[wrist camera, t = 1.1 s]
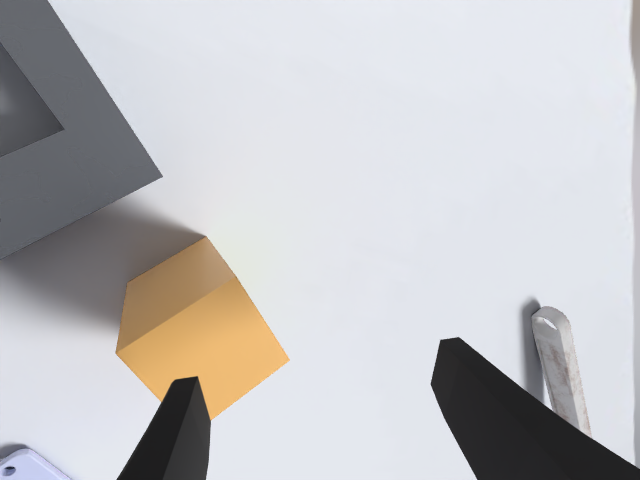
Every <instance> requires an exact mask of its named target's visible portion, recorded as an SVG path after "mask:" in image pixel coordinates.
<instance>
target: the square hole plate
mask: <svg viewBox="0 0 640 480" xmlns="http://www.w3.org/2000/svg"><path fill="white" fill-rule="evenodd" d="M0 43H1V44H2V45H3V47H4V48H5V49H6V51H7V52H8V53H9V55H10V56H11V58H12V59H13V60H14V62H15V63H16V64H17V66H18V67H19V68H20V70H21V71H22V72H23V74H24V75H25V76H26V78H27V79H28V80H29V82H30V83H31V85H32V86H33V87H34V89H35V90H36V91H37V93H38V94H39V95H40V97H41V98H42V99H43V101H44V102H45V103H46V105H47V106H48V108H49V109H50V110H51V112H52V113H53V114H54V116H55V117H56V118H57V120H58V121H59V122H60V124H61V125H62V126H63V128H64V130H62V131H60V132H57V133H55V134H53V135H50V136H48V137H46V138H43V139H41V140H39V141H36V142H34V143H32V144H29V145H27V146H25V147H22V148H20V149H18V150H15V151H13V152H11V153H8V154H6V155H4V156H1V157H0V259H2V258H4V257H6V256H8V255H10V254H12V253H14V252H16V251H18V250H20V249H22V248H24V247H26V246H28V245H30V244H32V243H34V242H36V241H38V240H40V239H42V238H44V237H45V236H47V235H49V234H51V233H53V232H55V231H57V230H59V229H61V228H63V227H65V226H67V225H69V224H71V223H73V222H75V221H77V220H79V219H81V218H83V217H85V216H87V215H89V214H91V213H93V212H95V211H97V210H98V209H100V208H102V207H104V206H106V205H108V204H110V203H112V202H114V201H116V200H118V199H120V198H122V197H124V196H126V195H128V194H130V193H132V192H134V191H136V190H138V189H140V188H142V187H144V186H146V185H148V184H150V183H152V182H153V181H155V180H157V179H159V178H161V177H163V176H162V174H161V173H160V171H159V170H158V168H157V167H156V165H155V164H154V162H153V161H152V159H151V158H150V156H149V154H148V153H147V151H146V150H145V148H144V147H143V145H142V144H141V142H140V141H139V139H138V138H137V136H136V135H135V133H134V132H133V130H132V129H131V127H130V125H129V124H128V122H127V121H126V119H125V118H124V116H123V115H122V113H121V112H120V110H119V109H118V107H117V106H116V104H115V103H114V101H113V100H112V98H111V97H110V95H109V93H108V92H107V90H106V89H105V87H104V86H103V84H102V83H101V81H100V80H99V78H98V77H97V75H96V74H95V72H94V71H93V69H92V68H91V66H90V64H89V63H88V61H87V60H86V58H85V57H84V55H83V54H82V52H81V51H80V49H79V48H78V46H77V45H76V43H75V42H74V40H73V39H72V37H71V35H70V34H69V32H68V31H67V29H66V28H65V26H64V25H63V23H62V22H61V20H60V19H59V17H58V16H57V14H56V13H55V11H54V10H53V8H52V6H51V5H50V3H49V2H48V0H0Z"/></svg>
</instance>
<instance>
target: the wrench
mask: <svg viewBox="0 0 640 480" xmlns="http://www.w3.org/2000/svg"><path fill="white" fill-rule="evenodd" d="M543 318H545V319H547V320H549V321H550V322H551V323H553V324H554V326H555V327H556V328H557V330H556V329H554V328H552V327H551V326H549V325H548V324H547V323H546V322H545V321H544V319H543ZM531 319H532V329H533V334H534V338H535V342H536V346H537V350H538V353H539V357H540V361H541V365H542V369H543V373H544V377H545V381H546V386H547V390H548V394H549V398H550V402H551V406H552V409H553V412H555V413H556V414H557V415H559V416H560V417H562V418H563V419H564V420H566V421H567V422H569V423H570V424H571V425H573V426H574V427H576V428H577V429H579V430H580V431H581V432H583V433H584V434H586V435H587V436H589V437H590V438H592V435H591V430H590V425H589V420H588V414H587V409H586V404H585V399H584V394H583V388H582V383H581V378H580V373H579V367H578V362H577V357H576V352H575V346H574V341H573V336H572V331H571V325H570V322H569V320H568V319H567V317H566V316H565V315H564V314H563V313H562V312H560V311H559V310H557V309H555V308H553V307H549V306H544V307H542V308H541V309H540V310H538V311H537V312H536V313H535V314H533V315H532V316H531Z"/></svg>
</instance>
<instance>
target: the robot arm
mask: <svg viewBox="0 0 640 480" xmlns="http://www.w3.org/2000/svg"><path fill="white" fill-rule="evenodd" d="M431 386H432V389H433V391H434V394H435V397H436V399H437V402H438V404H439V407H440V409H441V411H442V414H443V416H444V418H445V420H446V422H447V424H448V426H449V428H450V430H451V432H452V433H453V435H454V437H455V439H456V441H457V443H458V445H459V447H460V448H461V450H462V452H463V454H464V456H465V458H466V460H467V461H468V463H469V465H470V467H471V469H472V471H473V472H474V474H475V476H476V478H477V480H640V469H639V468H637V467H636V466H634V465H632V464H631V463H629V462H628V461H626V460H624V459H623V458H621V457H620V456H618V455H617V454H615V453H613V452H612V451H610V450H609V449H607V448H606V447H604V446H603V445H601V444H600V443H598V442H596V441H595V440H593V439H592V438H590V437H589V436H587V435H586V434H584V433H583V432H581V431H580V430H579V429H577V428H576V427H574V426H573V425H571V424H570V423H569V422H567V421H566V420H564V419H563V418H562V417H560V416H559V415H557V414H556V413H555V412H553V411H552V410H550V409H549V408H548V407H546V406H545V405H544V404H542V403H541V402H540V401H538V400H537V399H536V398H534V397H533V396H532V395H530V394H529V393H528V392H527V391H525V390H524V389H523V388H521V387H520V386H519V385H518V384H516V383H515V382H514V381H512V380H511V379H510V378H509V377H507V376H506V375H505V374H504V373H502V372H501V371H500V370H499V369H497V368H496V367H495V366H494V365H493V364H491V363H490V362H489V361H488V360H486V359H485V358H484V357H483V356H482V355H480V354H479V353H478V352H477V351H475V350H474V349H473V348H472V347H471V346H469V345H468V344H467V343H466V342H464V341H463V340H462V339H461V338H459V337H457V338H450V339H443V340H440V344H439V349H438V353H437V358H436V362H435V367H434V371H433V376H432V380H431ZM210 427H211V420H210V416H209V413H208V410H207V406H206V403H205V399H204V396H203V392H202V389H201V385H200V382H199V378H198V376H194V377H188V378H181V379H175V380H174V381H173V382H172V383H171V385H170V387H169V389H168V391H167V393H166V395H165V397H164V399H163V400H162V402H161V404H160V406H159V408H158V410H157V412H156V414H155V415H154V417H153V419H152V421H151V423H150V424H149V426H148V428H147V430H146V431H145V433H144V435H143V437H142V438H141V440H140V442H139V443H138V445H137V447H136V448H135V450H134V452H133V453H132V455H131V457H130V459H129V460H128V462H127V464H126V465H125V467H124V469H123V470H122V472H121V473H120V475H119V477H118V478H117V480H206V475H207V468H208V461H209V446H210ZM9 466H12V467H15V468H14V469H11V470H8V469H5V468H6V467H9ZM0 480H71V479H70V478H68V477H67V476H66V475H65V474H63V473H62V472H61V471H59V470H58V469H57V468H55V467H54V466H53V465H51V464H50V463H49V462H47V461H46V460H45V459H43V458H42V457H41V456H40V455H38V454H37V453H36V452H34V451H33V450H31V449H20V450H17V451H15V452H14V453H12V454H11V455H9V456H8V457H6V458H5V459H3V460H2V461H0Z"/></svg>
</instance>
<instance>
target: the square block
mask: <svg viewBox="0 0 640 480" xmlns="http://www.w3.org/2000/svg"><path fill="white" fill-rule="evenodd" d="M116 355H117V356H118V357H119V358H120V359H121V360H122V361H123V362H124V363H125V364H126V365H127V366H128V367H129V368H130V369H131V370H132V371H133V373H134V374H135V375H136V376H137V377H138V378H139V379H140V380H141V381H142V382H143V383H144V384H145V385H146V386H147V387H148V388H149V389H150V391H151V392H152V393H153V394H154V395H155V396H156V397H157V398H158V399H159V400H160V401H161V402H162V400H163V399H164V397H165V395H166V393H167V391H168V389H169V387H170V385H171V383H172V382H173V381H174V380H175V379H181V378H188V377H194V376H198V378H199V382H200V385H201V389H202V392H203V396H204V399H205V403H206V406H207V410H208V413H209V416H210V420H212V419H213V418H215V417H216V416H217V415H219V414H220V413H221V412H222V411H224V410H225V409H226V408H228V407H229V406H230V405H232V404H233V403H234V402H236V401H237V400H238V399H240V398H241V397H242V396H244V395H245V394H246V393H247V392H249V391H250V390H251V389H253V388H254V387H255V386H257V385H258V384H259V383H261V382H262V381H263V380H265V379H266V378H267V377H269V376H270V375H271V374H272V373H274V372H275V371H276V370H278V369H279V368H280V367H282V366H283V365H284V364H286V363H287V362H288V361H290V359H289V358H288V356H287V355H286V353H285V352H284V350H283V348H282V347H281V345H280V344H279V342H278V341H277V339H276V338H275V336H274V334H273V333H272V331H271V330H270V328H269V327H268V325H267V324H266V322H265V321H264V319H263V317H262V316H261V314H260V313H259V311H258V310H257V308H256V307H255V305H254V303H253V302H252V300H251V299H250V297H249V296H248V294H247V293H246V291H245V289H244V288H243V286H242V285H241V283H240V282H239V280H238V279H237V277H236V276H235V274H234V273H233V271H232V270H231V269H230V267H229V266H228V265H227V263H226V262H225V261H224V259H223V258H222V257H221V255H220V254H219V253H218V251H217V250H216V249H215V247H214V246H213V245H212V243H211V242H210V240H209V239H208V238H207V236H206V237H204V238H203V239H201V240H199V241H197V242H196V243H194V244H192V245H191V246H189V247H187V248H185V249H184V250H182V251H180V252H179V253H177V254H175V255H174V256H172V257H170V258H168V259H167V260H165V261H163V262H162V263H160V264H158V265H156V266H155V267H153V268H151V269H150V270H148V271H146V272H144V273H143V274H141V275H139V276H138V277H136V278H134V279H133V280H131V281H129V282H127V288H126V294H125V300H124V306H123V312H122V318H121V324H120V330H119V335H118V341H117V347H116Z"/></svg>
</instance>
